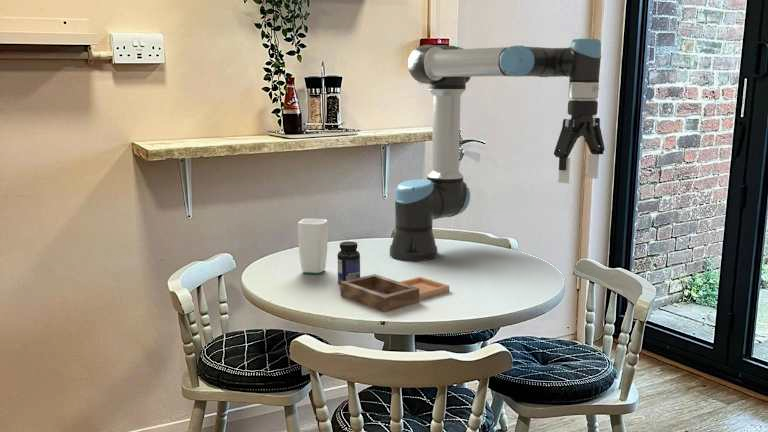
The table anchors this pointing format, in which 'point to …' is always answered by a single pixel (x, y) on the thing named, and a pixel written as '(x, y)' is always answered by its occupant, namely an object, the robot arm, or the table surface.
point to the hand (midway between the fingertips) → (578, 180)
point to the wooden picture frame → (363, 293)
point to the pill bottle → (348, 261)
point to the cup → (313, 244)
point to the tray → (427, 287)
